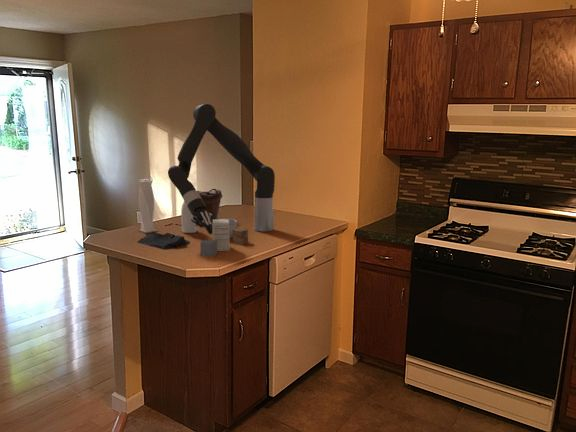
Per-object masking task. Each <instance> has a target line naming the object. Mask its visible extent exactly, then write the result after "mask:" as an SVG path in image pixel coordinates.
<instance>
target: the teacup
mask: <svg viewBox="0 0 576 432" xmlns="http://www.w3.org/2000/svg"><path fill="white" fill-rule="evenodd" d="M221 219H222V218H217V220H221ZM223 219H227V220H229V239H230V238H233V230H235V229H238V228H237V225H238V224H237V222H238V220H236V219H234V218H223Z"/></svg>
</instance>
